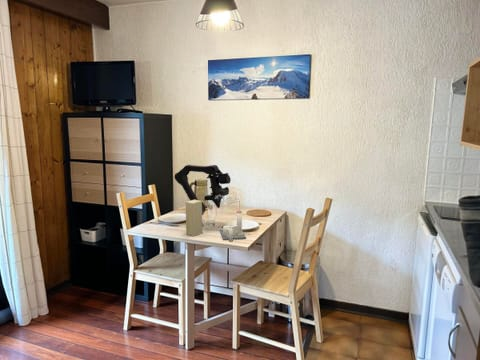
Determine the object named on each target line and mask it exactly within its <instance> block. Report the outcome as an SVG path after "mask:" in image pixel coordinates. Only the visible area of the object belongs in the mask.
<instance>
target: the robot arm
mask: <svg viewBox="0 0 480 360" xmlns="http://www.w3.org/2000/svg"><path fill="white" fill-rule="evenodd" d="M190 172H194V173H195V172H196V173H204V174H207V177H206V179H209V180H210V181H209V182H210V186H209V189H211V192H210V194H206V195H204V198H203V200H204V201H212V203H213V204H215V205H214V206H215V207H216V208H217V209H220V207H221V204H222V203H221V202H222V200H223V198H224V197H225V196H228V195H229V194H230V189H229V186H225V187H222V185H226V184H227V185H228V184H231V181H232V180H231V176H230V175H229V172H226V173H223V172H222V170H220V168H219V166H218V165H217V164H211V165H193V164H186V165H185V166H184V167H183V168H182V169H179V171H177V172H175V174H174V180H175V181H176V182H177V184H179V185H180V186H181V187H182V189H183V190H184V192H185V194H186V196H187V198H188V199H189V201H191V200H199V199H198V197H197V195H196V194H195V192H194V189H192V187H191V185H190V183H189V176H188V175H189V174H190ZM220 184H221V185H220ZM206 210H207V209H206V206H205V204H204V202H203V201H202V216H203V215H204V214H205V213H206ZM202 227H203V224H202Z"/></svg>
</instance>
